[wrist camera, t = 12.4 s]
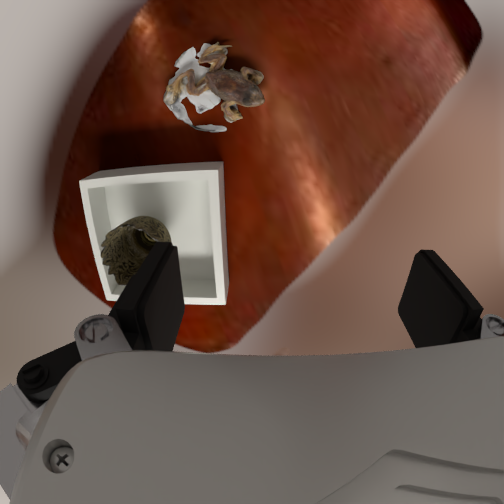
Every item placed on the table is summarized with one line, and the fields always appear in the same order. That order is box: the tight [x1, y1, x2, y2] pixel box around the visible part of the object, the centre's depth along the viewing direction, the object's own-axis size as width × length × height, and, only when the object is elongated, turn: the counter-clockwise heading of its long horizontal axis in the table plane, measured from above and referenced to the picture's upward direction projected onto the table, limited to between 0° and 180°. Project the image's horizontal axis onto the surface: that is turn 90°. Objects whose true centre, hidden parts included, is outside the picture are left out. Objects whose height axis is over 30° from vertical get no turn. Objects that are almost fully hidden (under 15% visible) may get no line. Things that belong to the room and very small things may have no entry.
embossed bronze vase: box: [101, 216, 171, 286], centre depth 32 cm, size 8×7×8 cm
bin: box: [79, 161, 229, 305], centre depth 34 cm, size 16×16×5 cm
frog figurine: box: [163, 42, 265, 132], centre depth 27 cm, size 12×12×4 cm
